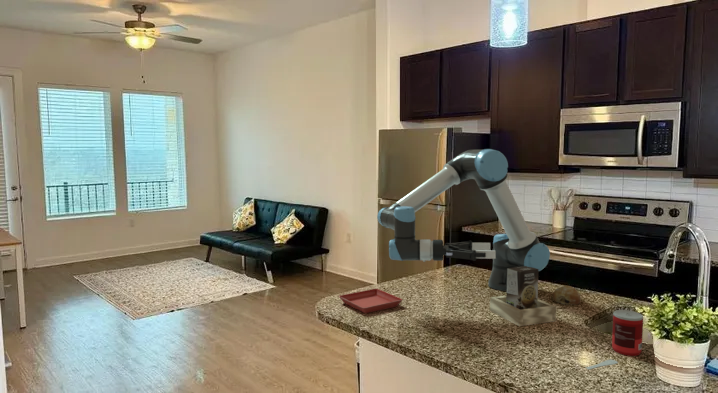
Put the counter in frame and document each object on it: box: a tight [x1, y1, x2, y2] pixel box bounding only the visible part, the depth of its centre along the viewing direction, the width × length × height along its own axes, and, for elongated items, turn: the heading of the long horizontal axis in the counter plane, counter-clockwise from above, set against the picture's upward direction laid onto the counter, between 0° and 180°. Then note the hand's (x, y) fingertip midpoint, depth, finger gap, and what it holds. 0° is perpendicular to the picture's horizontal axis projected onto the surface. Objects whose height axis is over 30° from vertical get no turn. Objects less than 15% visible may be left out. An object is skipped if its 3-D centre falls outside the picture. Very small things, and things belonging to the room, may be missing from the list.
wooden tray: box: [489, 295, 557, 327], centre depth 174 cm, size 15×17×5 cm
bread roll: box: [552, 285, 581, 306], centre depth 191 cm, size 10×10×8 cm
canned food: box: [611, 309, 644, 357], centre depth 143 cm, size 8×8×11 cm
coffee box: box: [505, 266, 539, 310], centre depth 173 cm, size 9×6×16 cm
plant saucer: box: [338, 288, 404, 314], centre depth 187 cm, size 18×18×3 cm
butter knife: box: [585, 359, 619, 370], centre depth 131 cm, size 1×24×3 cm
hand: (492, 250), depth 174 cm, fingers open, 13 cm apart
